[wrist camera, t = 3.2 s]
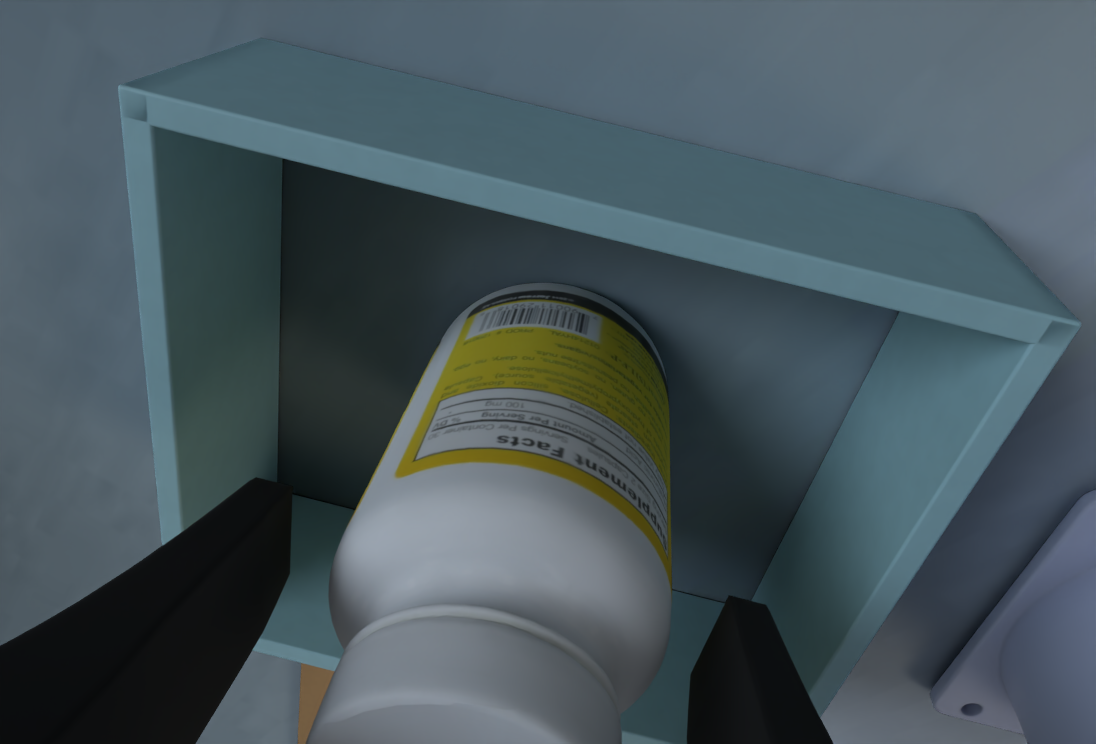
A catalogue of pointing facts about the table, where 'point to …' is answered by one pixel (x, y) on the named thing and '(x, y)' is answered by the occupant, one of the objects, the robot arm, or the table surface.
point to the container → (600, 210)
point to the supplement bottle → (511, 536)
